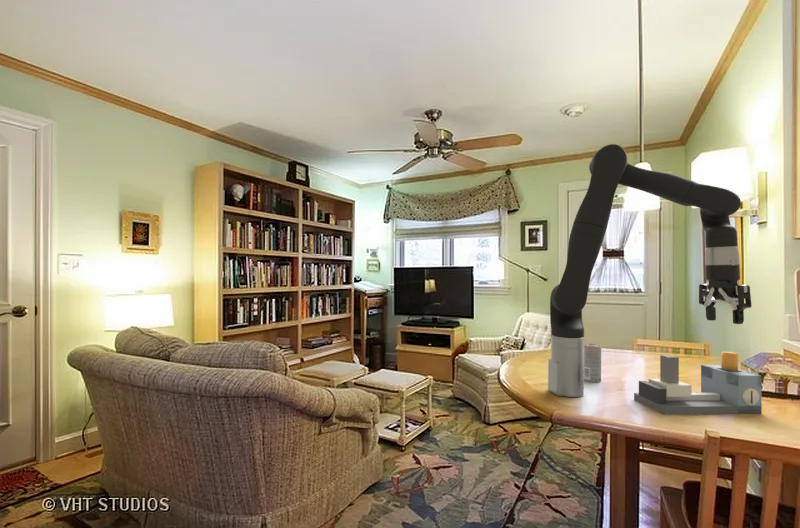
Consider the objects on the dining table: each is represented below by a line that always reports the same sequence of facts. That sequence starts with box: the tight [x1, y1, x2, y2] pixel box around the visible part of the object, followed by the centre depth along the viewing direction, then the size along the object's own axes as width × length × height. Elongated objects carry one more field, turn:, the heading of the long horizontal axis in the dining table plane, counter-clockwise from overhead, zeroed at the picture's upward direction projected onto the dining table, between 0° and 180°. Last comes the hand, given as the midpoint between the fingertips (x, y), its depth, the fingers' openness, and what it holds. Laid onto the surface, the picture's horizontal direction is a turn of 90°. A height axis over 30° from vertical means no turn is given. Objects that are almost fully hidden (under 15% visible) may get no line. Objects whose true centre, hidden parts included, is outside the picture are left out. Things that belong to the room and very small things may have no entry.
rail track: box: [633, 364, 763, 416], centre depth 111 cm, size 27×12×10 cm, turn 94°
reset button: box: [720, 351, 739, 371], centre depth 112 cm, size 4×4×4 cm
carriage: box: [648, 354, 693, 397], centre depth 111 cm, size 7×7×10 cm
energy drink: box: [584, 343, 602, 383], centre depth 137 cm, size 5×5×12 cm
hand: (724, 322), depth 112 cm, fingers open, 8 cm apart
